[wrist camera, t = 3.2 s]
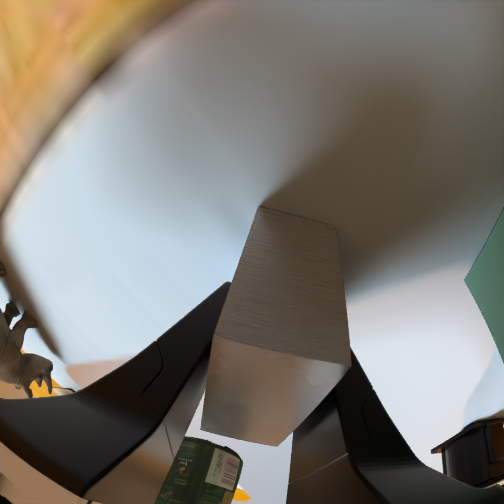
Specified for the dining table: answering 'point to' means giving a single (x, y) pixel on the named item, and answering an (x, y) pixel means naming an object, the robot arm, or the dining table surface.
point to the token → (278, 331)
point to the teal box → (491, 283)
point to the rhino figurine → (10, 357)
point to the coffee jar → (201, 474)
